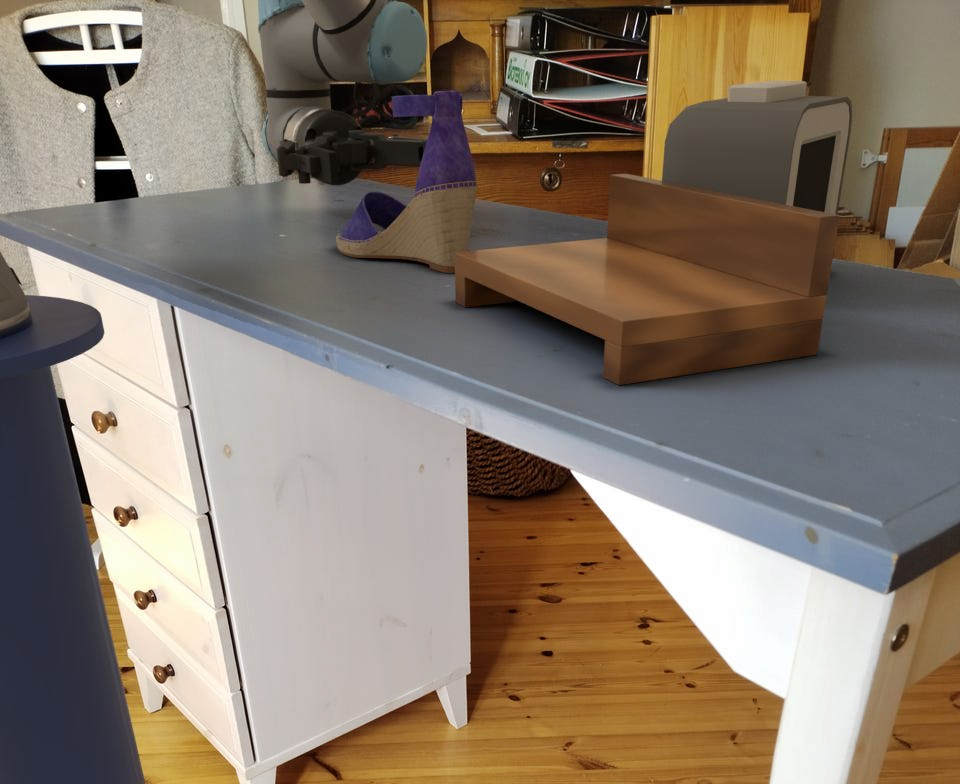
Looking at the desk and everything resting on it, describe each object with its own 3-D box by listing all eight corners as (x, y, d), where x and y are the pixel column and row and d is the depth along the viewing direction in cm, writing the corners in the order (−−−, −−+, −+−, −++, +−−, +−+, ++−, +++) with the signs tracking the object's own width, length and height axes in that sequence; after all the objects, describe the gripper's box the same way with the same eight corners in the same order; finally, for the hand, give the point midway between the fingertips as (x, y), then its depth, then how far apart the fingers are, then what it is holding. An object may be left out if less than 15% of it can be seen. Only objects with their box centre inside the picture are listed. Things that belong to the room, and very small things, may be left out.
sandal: (392, 240, 110) (384, 83, 103) (490, 270, 96) (489, 90, 88) (324, 248, 107) (310, 86, 99) (415, 281, 92) (407, 94, 85)
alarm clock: (771, 306, 82) (800, 88, 74) (642, 291, 87) (657, 86, 79) (828, 271, 94) (858, 80, 86) (712, 260, 99) (731, 78, 91)
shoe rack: (618, 385, 64) (628, 234, 60) (455, 302, 85) (452, 185, 80) (817, 354, 70) (840, 215, 65) (619, 284, 90) (626, 173, 86)
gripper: (424, 176, 121) (504, 198, 104) (226, 188, 113) (278, 215, 96) (422, 105, 117) (504, 116, 100) (216, 112, 109) (269, 126, 92)
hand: (394, 164), depth 98 cm, fingers open, 11 cm apart
